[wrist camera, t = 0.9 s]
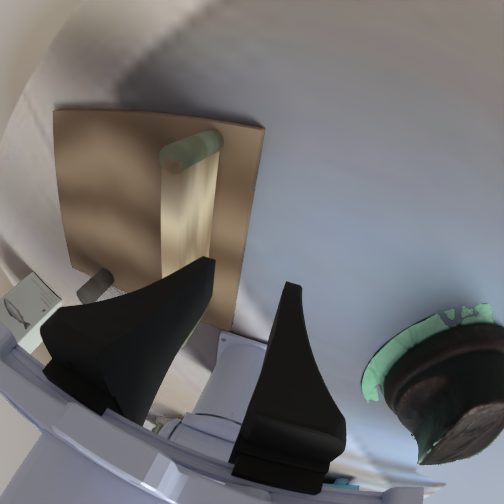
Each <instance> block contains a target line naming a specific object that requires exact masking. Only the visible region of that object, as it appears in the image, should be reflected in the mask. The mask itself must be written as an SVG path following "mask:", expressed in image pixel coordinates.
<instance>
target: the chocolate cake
mask: <svg viewBox="0 0 504 504" xmlns="http://www.w3.org/2000/svg"><path fill="white" fill-rule="evenodd" d="M474 309H475V310H476V311H478V312H479V315H478V316H477V317H474V316H472V317H468V315H472V314H473V308H472V309H467V308H466V307H465V306H463V307H462V310H461V317H462V318H465V316H467V317H466V319H463V320H462V322H461V323H460V324H458V325H456V324H453V325H454V327H448V326H447V325H445V323H444V322H443V320H442V319H441V318H440V316H439V315H438V314H435V315H434V316H432V317H430V318H428V319H426V320H424V321H422V322H420V323H418V324H415V325H413V326H410V327H409V328H408V329H406V330H405V331H403V332H402V333H400V334H399V335H397V336H396V337H394V338H393V339H392V340H391V341H390V342H389V343H387V344H386V345H385V346H384V347H383V348H382V349H381V350H380V351H379V352H378V353H377V354H376V356H375V357H373V359H372V360H371V361H370V363H369V365H368V366H367V368H366V370H365V373H364V376H363V380H362V392H363V396H364V397H365V399H366V401H367V402H369V400H371V399H372V400H374V401H378V400H379V396H377V394H378V393H377V390H378V389H377V388H374V387H375V386H376V385H377V384H380V385H381V388H382V390H383V394H384V398H385V401H386V403H387V405H388V406H389V408H390V409H391V410H392V411H393V412H394V413H395V414H396V415H397V416H398V418H399V420H400V422H401V423H402V424H403V425H404V426H405V427H406V428H407V429H408V430H409V431H410V432H411V433H412V434H413V435H414V437H415V438H414V439H416V441H417V444H418V450H419V452H418V463H417V464H419V465H434V464H438V465H439V464H440V465H443V464H446V463H447V462H453V461H456V460H461V459H466V458H470V457H472V456H475V455H478V454H479V453H481V452H482V451H483V450H484V449H485V448H487V447H488V446H490V445H491V444H492V443H493V442H494V441H495V440H496V439H497V438H498V436H499V435H500V433H501V432H502V430H503V429H504V327H503V326H499V325H496V324H495V323H494V321H493V318H491V317H492V314H493V313H492V310H491V308H490V305H489V304H478V305H476V307H475V308H474ZM444 313H445V314H446V315H447V316H448V318H449V319H450V320H453V319H454V318H455V311H454V308H453V309H450V310H446V311H444ZM490 316H491V317H490ZM412 434H411V436H413V435H412Z"/></svg>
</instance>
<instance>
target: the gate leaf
mask: <svg viewBox="0 0 504 504" xmlns="http://www.w3.org/2000/svg"><path fill="white" fill-rule="evenodd" d="M223 144H224V139H223V136H222V135H221V133H220V132H218V131H217V130H214V129H210V130H207V131H204V132H201V133H198V134H195V135H192V136H190V137H187V138H184V139H181V140H179V141H176V142H173V143H171V144H168V145H166V146H164V147H163V148H162V149H161V151H160V154H159V162H160V165H161V167H162V176H161V262H162V278H164V277H166V276H168V275H170V274H172V273H174V272H175V271H177V270H179V269H181V268H182V267H184V266H186V265H188V264H189V263H191V262H193V261H195V260H196V259H198V258H200V257H202V256H205V257H208V258H209V249H210V238H211V227H212V217H213V207H214V197H215V188H216V179H217V170H218V162H219V153H220V150H221V149H222V147H223ZM209 305H210V302H209V304H208V306H207V308H206V310H207V309H208V307H209ZM206 310H205V312H206ZM205 312H204V313H205ZM203 315H204V314H203ZM203 315H202V317H203ZM202 317H201V318H202ZM201 318H200V320H201ZM200 320H199V321H198V323H199V322H200ZM198 323H197V324H196V326H197V325H198ZM196 326H195V327H194V329H193V330H192V332H191V333H190V335H189V336H188V337H187V339H186V340H185V342H184V343H183V345H182V346H181V348H180V349H182V348H183V347H184V346H185V344H186V343H187V341H188V339H189V338H190V336H191V335H192V333H193V331H194V330H195V328H196Z"/></svg>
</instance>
